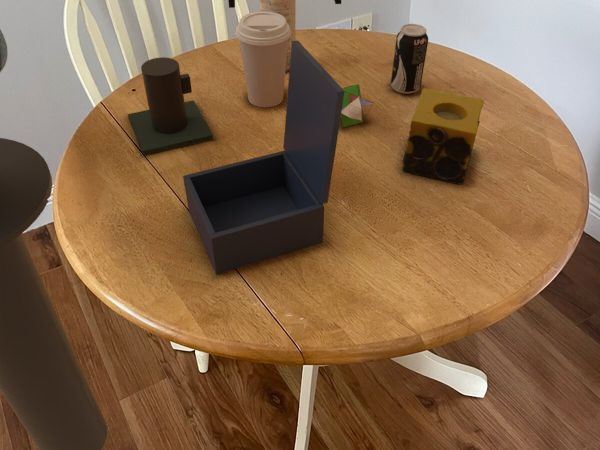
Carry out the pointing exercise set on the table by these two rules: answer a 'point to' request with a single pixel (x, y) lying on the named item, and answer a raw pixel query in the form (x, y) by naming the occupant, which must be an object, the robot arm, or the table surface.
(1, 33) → the robot arm
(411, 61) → the beverage can
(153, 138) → the trivet
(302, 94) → the chest lid
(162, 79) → the brown mug
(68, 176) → the table surface
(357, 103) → the geometric puzzle
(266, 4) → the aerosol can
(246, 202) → the chest
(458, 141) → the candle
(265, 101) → the coffee cup
